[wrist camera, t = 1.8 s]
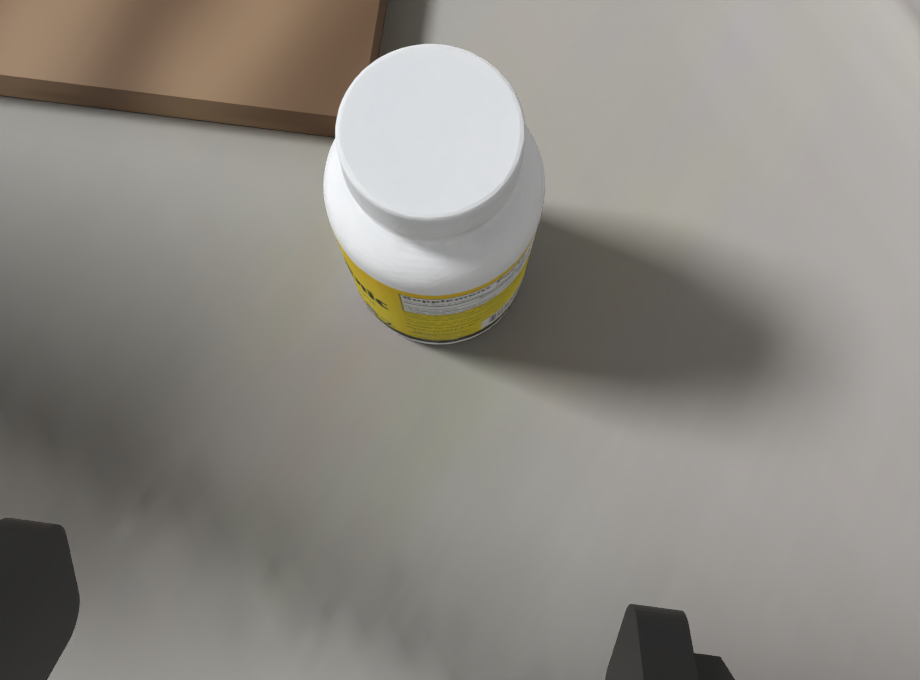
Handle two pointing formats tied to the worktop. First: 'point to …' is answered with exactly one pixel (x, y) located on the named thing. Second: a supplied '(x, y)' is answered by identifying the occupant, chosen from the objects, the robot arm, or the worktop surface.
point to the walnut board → (193, 57)
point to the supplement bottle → (434, 192)
